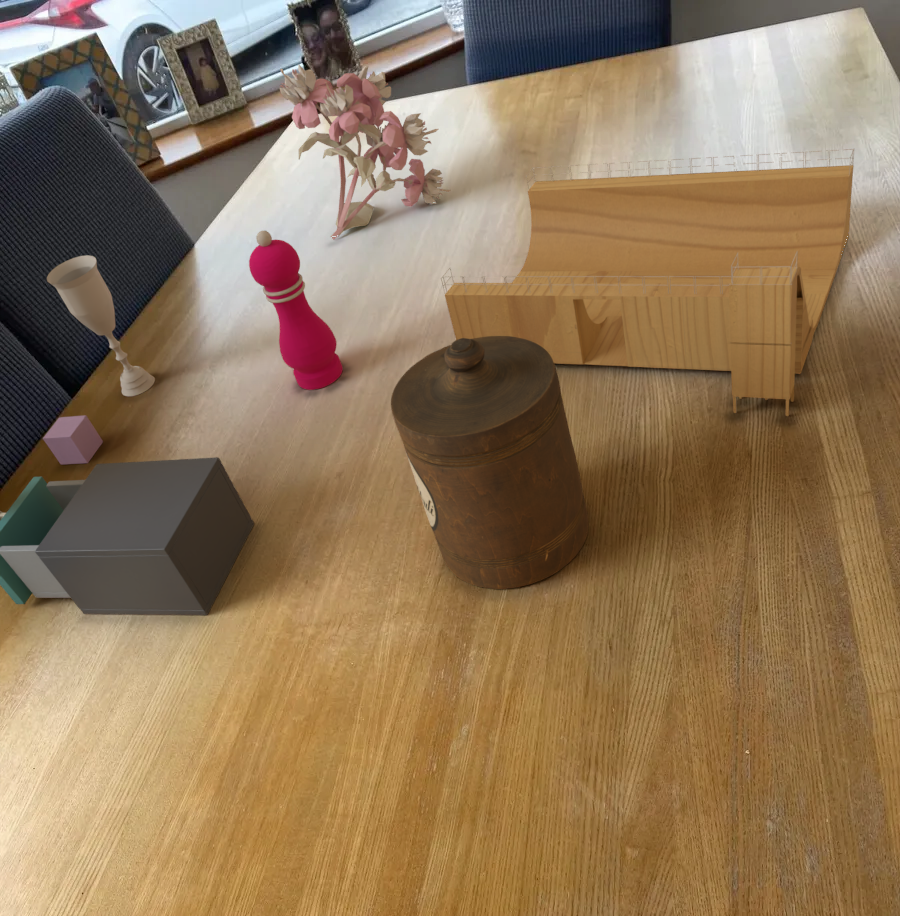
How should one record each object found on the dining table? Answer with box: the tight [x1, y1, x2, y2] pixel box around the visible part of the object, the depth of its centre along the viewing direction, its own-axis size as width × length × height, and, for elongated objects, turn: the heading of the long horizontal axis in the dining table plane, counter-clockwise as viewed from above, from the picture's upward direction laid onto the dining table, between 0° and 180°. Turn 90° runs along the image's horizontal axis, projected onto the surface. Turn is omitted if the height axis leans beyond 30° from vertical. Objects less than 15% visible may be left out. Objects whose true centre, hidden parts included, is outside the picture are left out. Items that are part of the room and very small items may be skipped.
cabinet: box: [35, 456, 255, 616], centre depth 100 cm, size 16×14×10 cm
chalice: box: [46, 255, 156, 397], centre depth 127 cm, size 7×7×18 cm
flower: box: [279, 64, 451, 241], centre depth 145 cm, size 20×22×25 cm
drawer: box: [0, 476, 86, 605], centre depth 104 cm, size 21×12×8 cm, turn 77°
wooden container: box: [390, 336, 590, 590], centre depth 85 cm, size 15×15×22 cm
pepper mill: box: [248, 230, 343, 391], centre depth 116 cm, size 7×7×20 cm
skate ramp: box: [440, 148, 855, 417], centre depth 108 cm, size 40×35×16 cm
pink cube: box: [42, 414, 104, 465], centre depth 123 cm, size 4×4×4 cm
